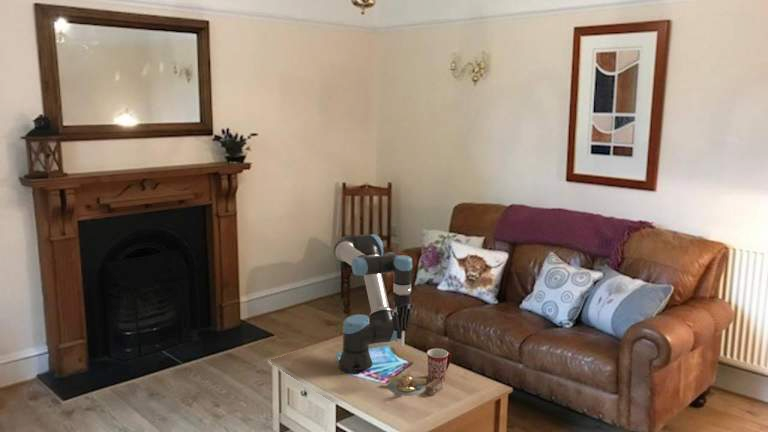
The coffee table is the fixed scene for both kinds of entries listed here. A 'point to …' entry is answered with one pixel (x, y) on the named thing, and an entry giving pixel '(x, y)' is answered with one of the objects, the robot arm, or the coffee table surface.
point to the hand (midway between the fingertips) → (400, 344)
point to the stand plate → (393, 388)
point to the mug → (438, 364)
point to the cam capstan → (406, 382)
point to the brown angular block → (433, 387)
